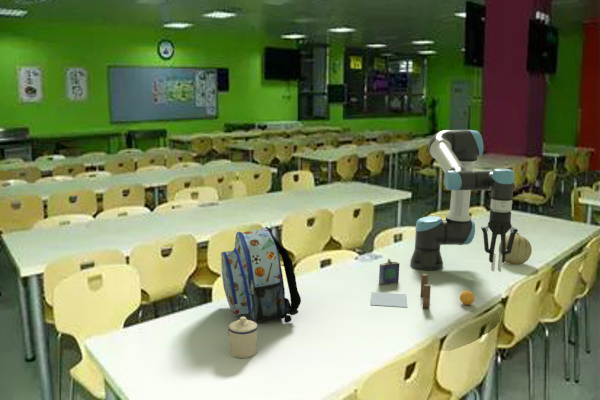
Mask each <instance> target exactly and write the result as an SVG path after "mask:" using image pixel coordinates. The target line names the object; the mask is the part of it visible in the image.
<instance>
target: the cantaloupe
mask: <svg viewBox="0 0 600 400" xmlns="http://www.w3.org/2000/svg"><path fill="white" fill-rule="evenodd" d="M509 237H510V234H509V235H506V238H505V241H506V249H507V245H508V241H509ZM499 253H501V241H500V243H499V246H498V254H499ZM531 255H532V244H531V242H530V241H529V239H527V238H526V237H524V236H522V235H520V233H519V232H517V233H516V234H515V237H514V241H513V245H512V249H511V253H510V254H506V255H505V262H504V263H506V264H509V265H511V266H519V265H523V264H524V263H526V262H528V260H529V259H530V257H531Z"/></svg>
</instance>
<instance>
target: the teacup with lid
mask: <svg viewBox="0 0 600 400" xmlns="http://www.w3.org/2000/svg"><path fill="white" fill-rule="evenodd" d="M227 335H228V337H229V339H228V340H229V354H230V355H231V356H232V357H233V358H236V359H247V358H251V357H254V356H255V355H256V354H257V352H258V323H256V322H255V320H254V321H253V320H250V319H247V317H246V316H240V317H239V319H237V320H234V321H232V322H231V323H230V324H229V325H228V327H227Z"/></svg>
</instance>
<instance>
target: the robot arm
mask: <svg viewBox="0 0 600 400" xmlns="http://www.w3.org/2000/svg"><path fill="white" fill-rule="evenodd" d="M427 149H428V152H429V155H430V156H431V157H432V158H433V159H435V160H436V162H437V163H438V164H439V166H440V168H441V169H442V171H443V172H444V176H443V177H444V178H443V183H444V187H445V189H446V190H447V191H448V190H449V191H451V193H450V194H451V195H450V202H449V203H450V204H449V205H450V206H449V212H448V213H447V214H446V215H445V219H443V218H442V217H441V216H438V215H435V216H434V215H432V216H431V215H430V216H423V217H421V218H419V219H417V221H416V224H415V229H414V230H415V238H414V239H415V240H414V251H413V253H412V255H411V259H410V263H409V264H410V267H412V268H414V269H416V270H417V269H418V270H422V271H437V270H442V269H443V267H444V261H443V256H442V254H441V246H442V245H444V246H449V245H450V246H451V245H452V246H455V245H456V246H462V245H463V246H464V245H469V244H471V243H472V242H473V240H474V239H475V234H476V224H475V222H474V220H473V219H472V216H471V215H470V213H469V212H470V201H471V194H472V193H471V191H491V196H490V206H489V207H490V209H491V210H489V221H488V223H487V224H486V225H484V226H483V225H482V226H481V227H480V229H481V230H482V235H483V245H484V246H483V247H484V248H483V249H484V251H485V253H487V254H489V256H488V257H489V258H488V262H489V263H490V264H491V266H490V270H491V272H495V267H496V256H497V255H496V254H495V250H496V249H495V248H496V242H497V238H498V235H500V242H501V253H499V252H498V261H497V271H498V272H499V273H502V264H505V263H506V262H505V255H506V254H510V253H511V249H512V245H513V241H514V237H515V235H517V233H519V230H518V228H517V227H514V226H512V223H511V221H512V206H513V198H514V197H513V196H514V195H513V194H514V184H515V171H514V170H512V169H508V168H495V169H485V170H474V164H475V163H476V162H478V157H481V156H482V155H483V153H484V140H483V137H482V135H481V133H480V131H478V130H473V129H445V130H444V129H443V130H440V131H437V132H436V133H435V134H433V135H432V137H431V138H430V140H429V142H428V147H427ZM489 230H490V231H491V240H490V246H489V237H488V232H489ZM508 232H510V234H509V235H510V237H509V241H508V245H507V249H506V241H505V238H506V236H507V233H508Z"/></svg>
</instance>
